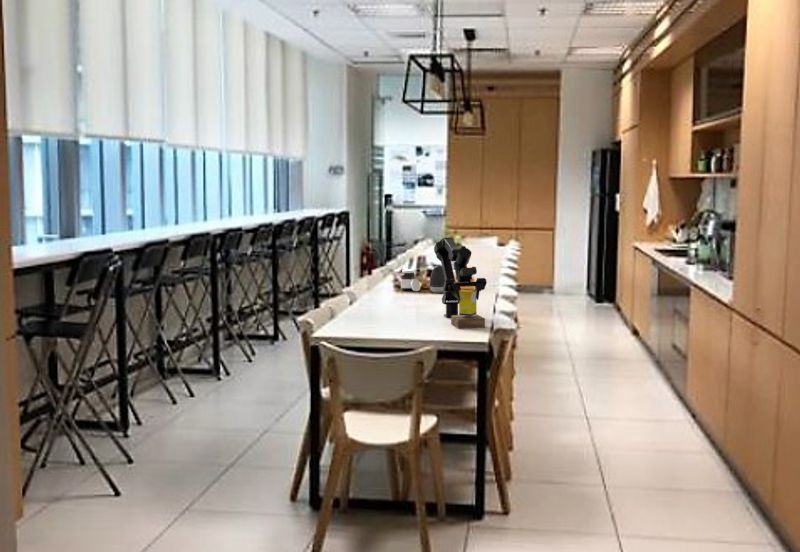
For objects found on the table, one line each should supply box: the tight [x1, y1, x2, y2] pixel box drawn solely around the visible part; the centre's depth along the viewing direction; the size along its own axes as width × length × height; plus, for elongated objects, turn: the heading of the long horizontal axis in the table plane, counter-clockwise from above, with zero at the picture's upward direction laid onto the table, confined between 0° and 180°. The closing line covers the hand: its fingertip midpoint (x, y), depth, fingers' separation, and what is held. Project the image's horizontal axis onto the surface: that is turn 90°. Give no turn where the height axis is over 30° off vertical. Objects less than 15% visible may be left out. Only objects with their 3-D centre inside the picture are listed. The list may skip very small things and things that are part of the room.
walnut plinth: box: [450, 313, 486, 330], centre depth 406 cm, size 12×12×4 cm
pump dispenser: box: [428, 264, 445, 294], centre depth 514 cm, size 10×10×15 cm
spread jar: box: [400, 268, 421, 292], centre depth 523 cm, size 12×11×12 cm
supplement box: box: [458, 288, 477, 316], centre depth 405 cm, size 6×6×11 cm
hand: (468, 299), depth 403 cm, fingers closed on supplement box, 8 cm apart
